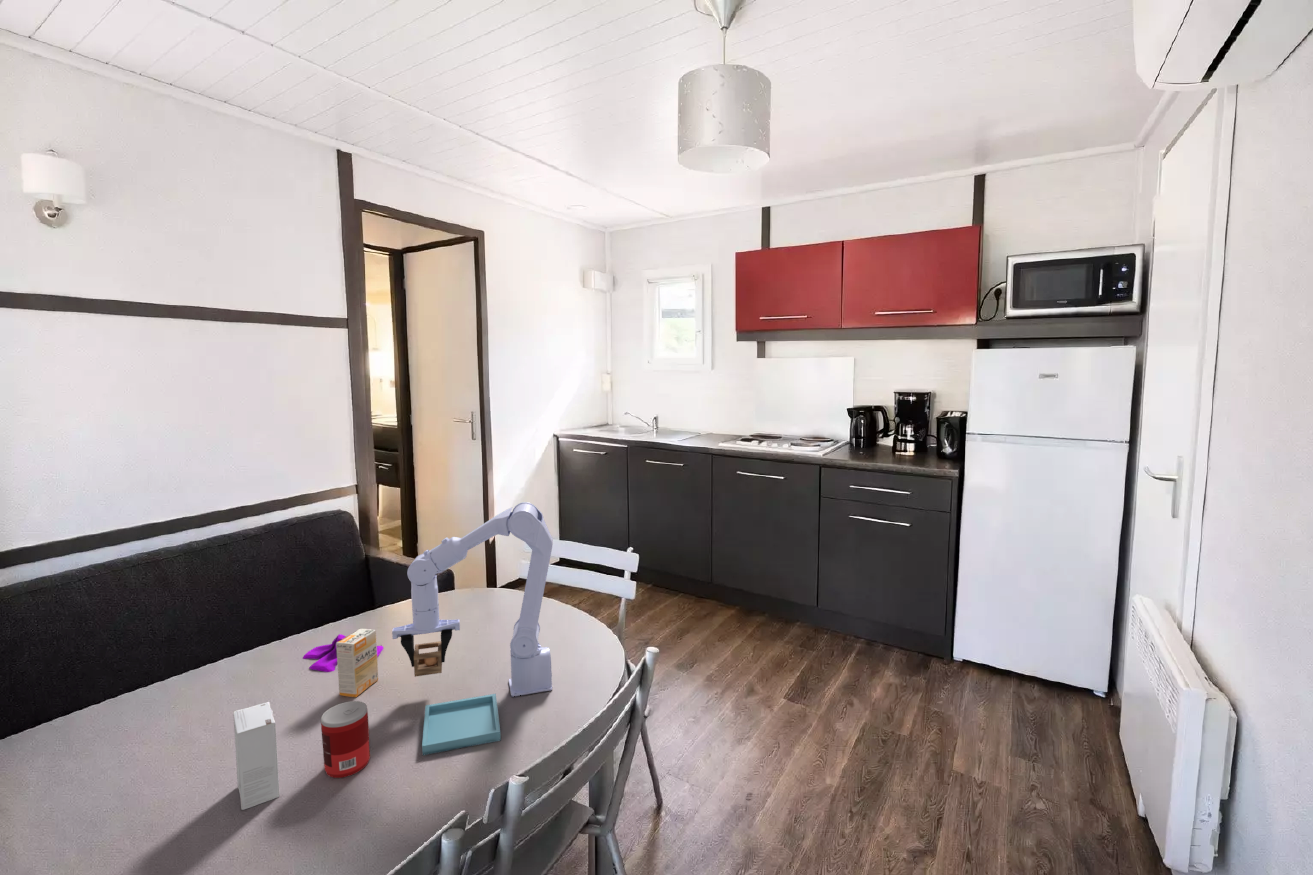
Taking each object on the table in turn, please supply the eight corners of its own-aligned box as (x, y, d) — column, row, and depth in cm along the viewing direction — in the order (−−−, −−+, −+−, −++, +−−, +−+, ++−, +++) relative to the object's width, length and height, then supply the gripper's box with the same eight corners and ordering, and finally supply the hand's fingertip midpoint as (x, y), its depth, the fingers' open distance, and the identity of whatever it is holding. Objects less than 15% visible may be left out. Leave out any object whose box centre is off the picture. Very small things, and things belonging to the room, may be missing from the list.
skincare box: (237, 786, 110) (230, 710, 108) (275, 772, 114) (269, 699, 112) (241, 813, 104) (234, 732, 102) (282, 797, 108) (276, 719, 106)
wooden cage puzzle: (442, 660, 144) (441, 641, 143) (441, 672, 139) (440, 652, 138) (416, 664, 142) (415, 644, 142) (414, 676, 137) (413, 655, 136)
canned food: (379, 756, 119) (376, 704, 117) (346, 783, 111) (342, 727, 110) (349, 748, 121) (345, 697, 120) (315, 774, 114) (311, 719, 112)
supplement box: (356, 698, 139) (353, 644, 138) (338, 696, 140) (334, 642, 139) (379, 680, 147) (376, 629, 146) (362, 677, 148) (359, 627, 147)
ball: (435, 664, 142) (440, 652, 142) (434, 670, 139) (439, 658, 139) (423, 661, 141) (427, 649, 141) (421, 667, 139) (426, 654, 139)
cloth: (393, 657, 160) (392, 635, 159) (316, 682, 147) (314, 659, 146) (365, 630, 176) (364, 610, 175) (293, 651, 163) (291, 629, 162)
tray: (496, 701, 138) (495, 693, 137) (500, 740, 124) (500, 731, 123) (426, 713, 133) (425, 705, 133) (422, 755, 119) (422, 746, 119)
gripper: (458, 596, 145) (461, 650, 146) (393, 604, 140) (396, 659, 142) (458, 607, 138) (461, 663, 140) (389, 616, 133) (393, 674, 135)
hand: (428, 662), depth 140 cm, fingers closed on wooden cage puzzle, 6 cm apart
